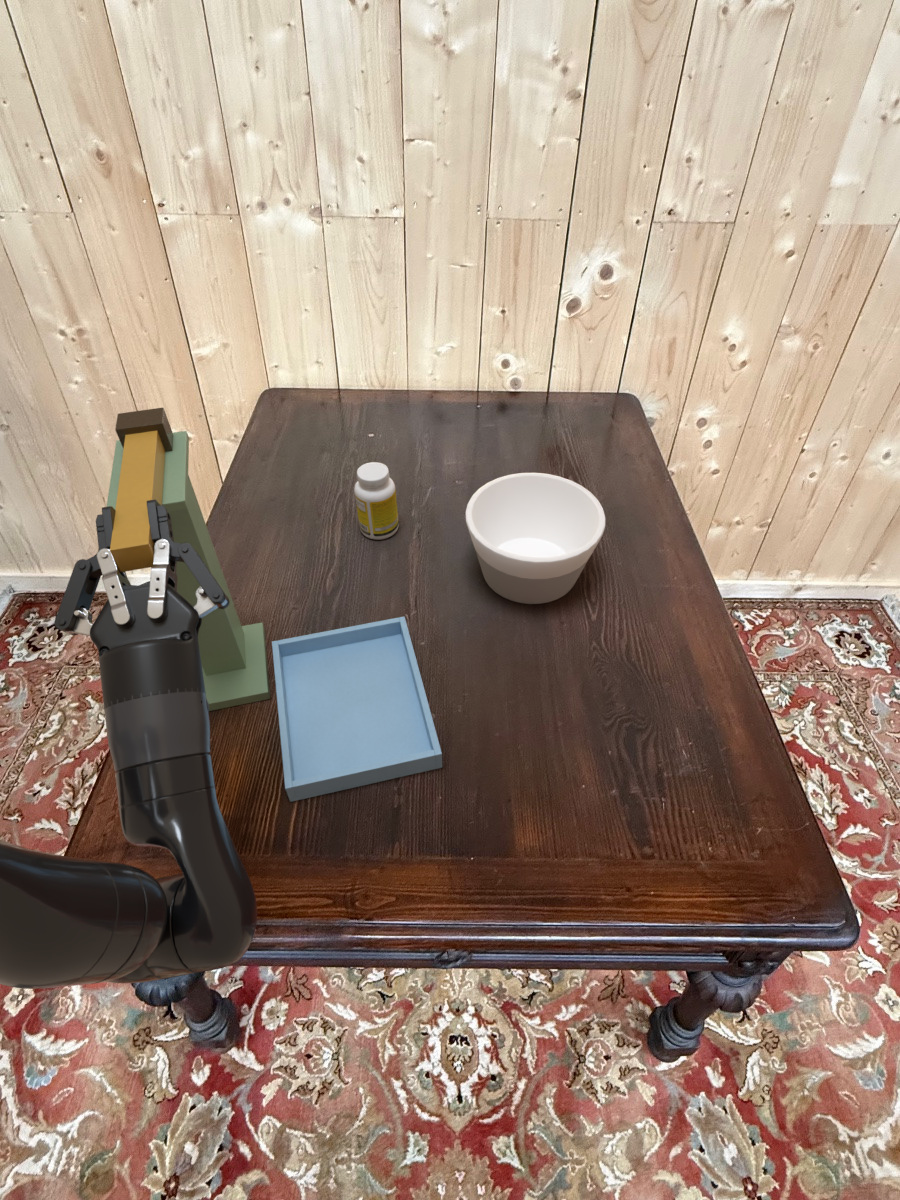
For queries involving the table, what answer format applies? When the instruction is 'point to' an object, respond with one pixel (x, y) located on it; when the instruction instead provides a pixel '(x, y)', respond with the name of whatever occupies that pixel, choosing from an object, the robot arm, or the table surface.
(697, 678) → the table surface
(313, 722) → the tray
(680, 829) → the table surface
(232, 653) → the stand
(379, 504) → the pill bottle
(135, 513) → the brass bolt
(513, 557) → the bowl
